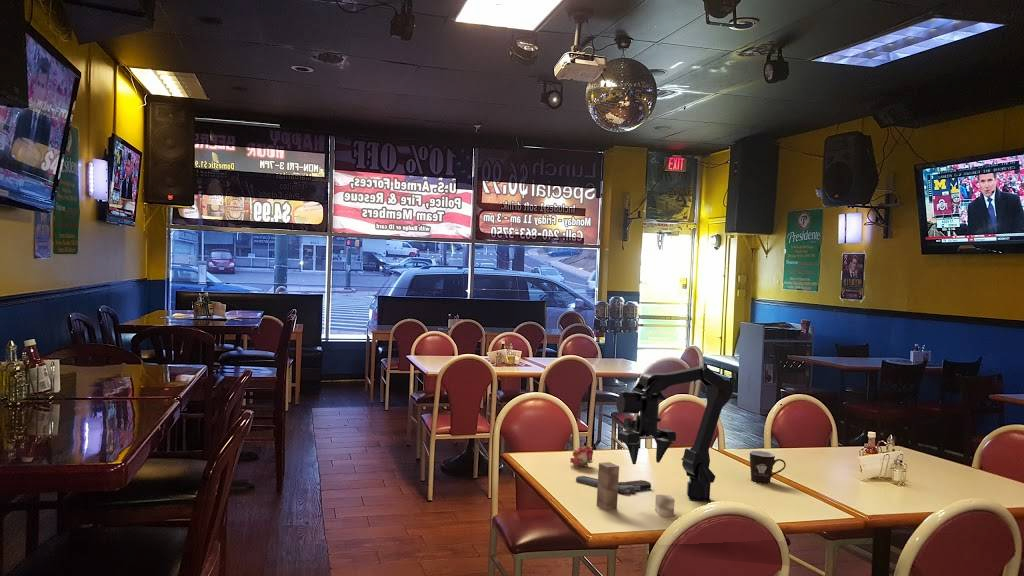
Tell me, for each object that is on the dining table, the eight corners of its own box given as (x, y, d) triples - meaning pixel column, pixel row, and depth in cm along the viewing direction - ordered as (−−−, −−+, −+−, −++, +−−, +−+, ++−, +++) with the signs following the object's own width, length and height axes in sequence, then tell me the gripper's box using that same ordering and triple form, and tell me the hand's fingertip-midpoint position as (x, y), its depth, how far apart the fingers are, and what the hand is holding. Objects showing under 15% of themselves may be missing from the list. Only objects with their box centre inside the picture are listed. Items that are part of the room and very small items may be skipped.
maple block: (669, 511, 220) (670, 495, 220) (673, 516, 215) (674, 499, 215) (654, 511, 219) (655, 494, 219) (659, 516, 215) (659, 499, 215)
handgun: (597, 469, 257) (574, 475, 247) (653, 481, 243) (632, 489, 232) (596, 477, 257) (574, 483, 247) (653, 490, 243) (631, 497, 232)
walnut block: (607, 504, 223) (610, 462, 223) (616, 509, 218) (619, 466, 218) (596, 505, 221) (598, 462, 221) (605, 510, 217) (607, 467, 217)
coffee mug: (743, 480, 260) (745, 452, 260) (754, 476, 266) (755, 449, 266) (775, 488, 252) (777, 459, 252) (785, 484, 258) (787, 456, 258)
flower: (603, 463, 267) (594, 443, 271) (592, 462, 260) (583, 441, 263) (581, 474, 271) (573, 454, 274) (570, 474, 263) (561, 453, 266)
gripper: (657, 408, 240) (653, 455, 240) (609, 409, 231) (606, 458, 232) (679, 414, 230) (675, 464, 230) (630, 416, 222) (627, 467, 222)
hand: (645, 463), depth 229 cm, fingers open, 9 cm apart
